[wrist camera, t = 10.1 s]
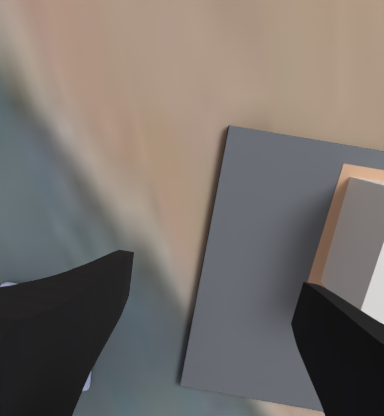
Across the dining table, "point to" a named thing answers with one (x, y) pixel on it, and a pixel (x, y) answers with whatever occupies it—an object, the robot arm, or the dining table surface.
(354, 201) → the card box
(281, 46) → the dining table surface
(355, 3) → the dining table surface
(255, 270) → the mat
